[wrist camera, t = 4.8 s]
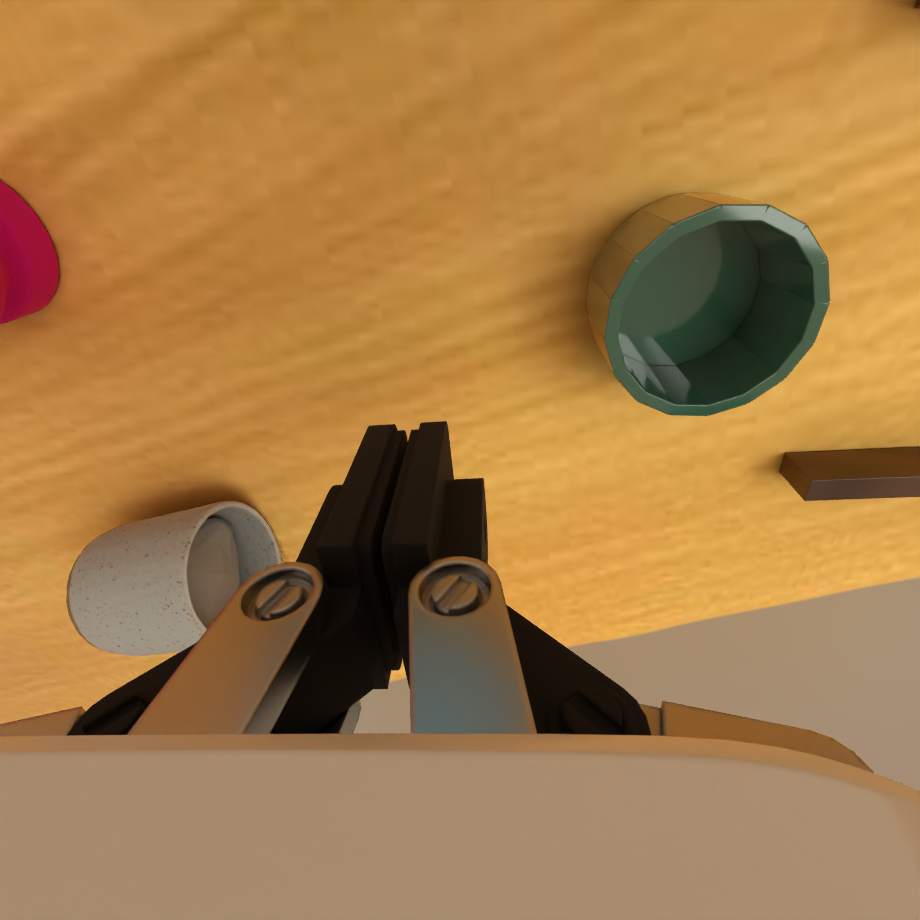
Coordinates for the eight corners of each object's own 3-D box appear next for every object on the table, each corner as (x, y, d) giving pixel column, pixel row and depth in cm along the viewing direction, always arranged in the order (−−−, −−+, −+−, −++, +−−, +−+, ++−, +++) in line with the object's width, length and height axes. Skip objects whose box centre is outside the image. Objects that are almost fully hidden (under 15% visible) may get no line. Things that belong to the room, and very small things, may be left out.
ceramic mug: (115, 502, 29) (11, 606, 23) (236, 471, 28) (160, 573, 21) (214, 620, 35) (152, 730, 28) (321, 600, 33) (280, 712, 27)
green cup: (550, 288, 22) (563, 319, 18) (705, 146, 19) (761, 146, 15) (649, 401, 24) (679, 449, 20) (799, 291, 21) (868, 324, 17)
